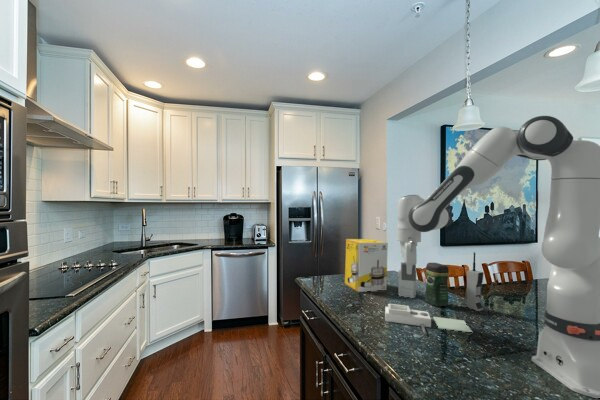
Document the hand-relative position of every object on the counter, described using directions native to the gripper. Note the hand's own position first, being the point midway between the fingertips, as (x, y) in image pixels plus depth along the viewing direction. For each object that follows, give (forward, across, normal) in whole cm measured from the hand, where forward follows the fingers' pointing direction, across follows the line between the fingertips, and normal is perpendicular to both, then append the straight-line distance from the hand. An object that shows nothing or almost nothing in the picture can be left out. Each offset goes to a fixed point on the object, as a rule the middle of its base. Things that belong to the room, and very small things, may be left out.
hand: (408, 272), depth 112 cm
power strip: (+18, -4, 0) cm, 19 cm away
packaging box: (+18, +42, +18) cm, 49 cm away
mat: (+19, +1, -16) cm, 24 cm away
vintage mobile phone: (+19, +24, -30) cm, 43 cm away
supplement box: (+18, +34, -3) cm, 39 cm away
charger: (+3, 0, 0) cm, 3 cm away
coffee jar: (+19, +26, -15) cm, 35 cm away
